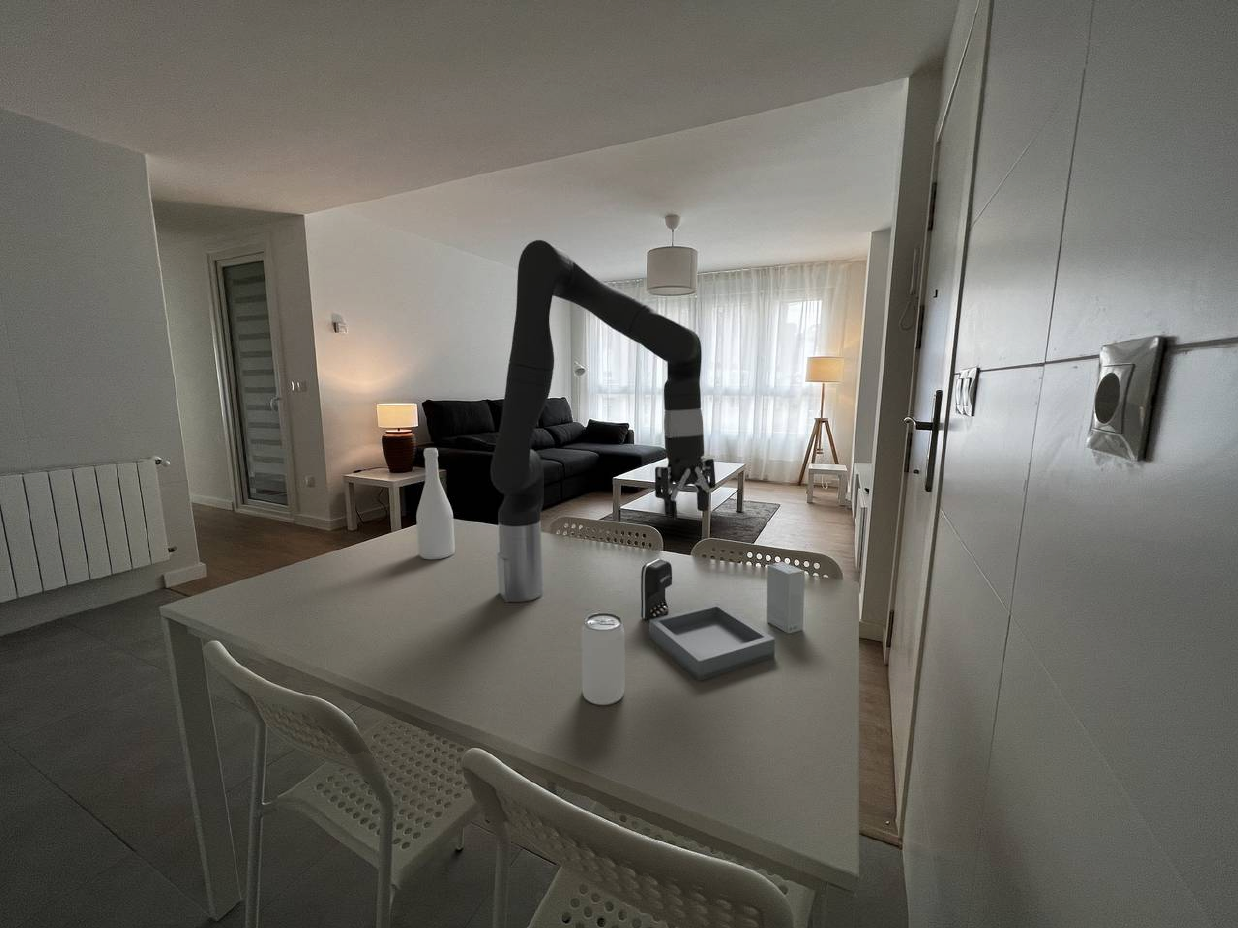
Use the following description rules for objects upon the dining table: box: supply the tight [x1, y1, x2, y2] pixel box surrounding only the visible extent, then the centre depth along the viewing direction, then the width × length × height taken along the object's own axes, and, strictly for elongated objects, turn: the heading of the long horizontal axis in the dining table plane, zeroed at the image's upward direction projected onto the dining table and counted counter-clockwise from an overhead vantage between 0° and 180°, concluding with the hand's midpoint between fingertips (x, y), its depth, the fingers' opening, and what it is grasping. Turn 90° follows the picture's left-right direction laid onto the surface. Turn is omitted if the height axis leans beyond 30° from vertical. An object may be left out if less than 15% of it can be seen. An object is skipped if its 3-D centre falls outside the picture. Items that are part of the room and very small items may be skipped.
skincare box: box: [766, 561, 805, 634], centre depth 98 cm, size 6×4×12 cm
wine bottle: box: [415, 447, 456, 560], centre depth 138 cm, size 10×10×30 cm
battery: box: [640, 558, 673, 621], centre depth 102 cm, size 7×4×11 cm, turn 142°
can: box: [581, 612, 625, 706], centre depth 76 cm, size 6×6×12 cm
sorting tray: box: [648, 602, 776, 682], centre depth 90 cm, size 16×16×4 cm
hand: (687, 514), depth 99 cm, fingers open, 8 cm apart
